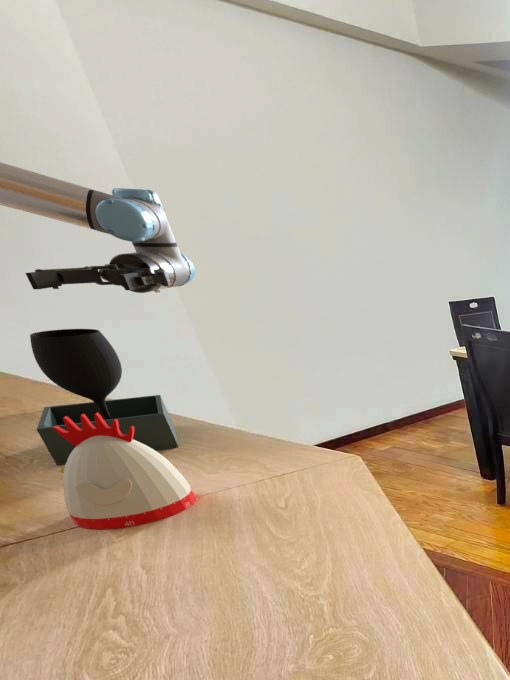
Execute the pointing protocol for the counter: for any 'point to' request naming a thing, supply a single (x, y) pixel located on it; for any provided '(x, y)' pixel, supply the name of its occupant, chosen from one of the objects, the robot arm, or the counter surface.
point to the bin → (138, 412)
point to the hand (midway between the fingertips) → (78, 281)
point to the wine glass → (79, 362)
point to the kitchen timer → (118, 478)
